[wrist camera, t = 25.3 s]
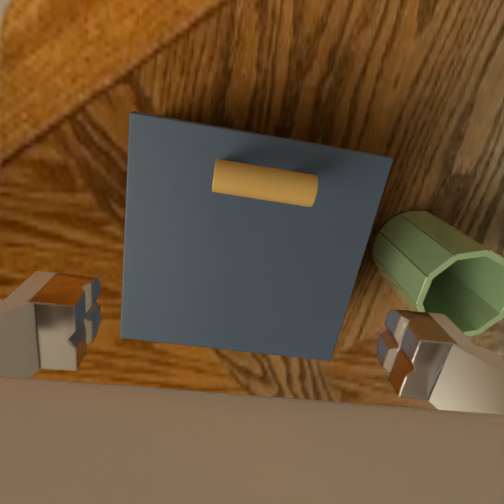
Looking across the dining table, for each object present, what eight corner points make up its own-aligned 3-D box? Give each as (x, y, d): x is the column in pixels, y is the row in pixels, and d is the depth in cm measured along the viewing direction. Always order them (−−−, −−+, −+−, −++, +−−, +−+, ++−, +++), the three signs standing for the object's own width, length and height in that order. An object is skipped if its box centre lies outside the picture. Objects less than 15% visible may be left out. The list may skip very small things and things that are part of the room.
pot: (457, 214, 31) (536, 257, 23) (429, 284, 33) (491, 344, 25) (385, 202, 30) (440, 242, 22) (362, 275, 32) (404, 333, 24)
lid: (132, 111, 20) (107, 115, 16) (388, 155, 22) (424, 169, 18) (122, 331, 25) (101, 376, 21) (328, 354, 27) (345, 400, 23)
